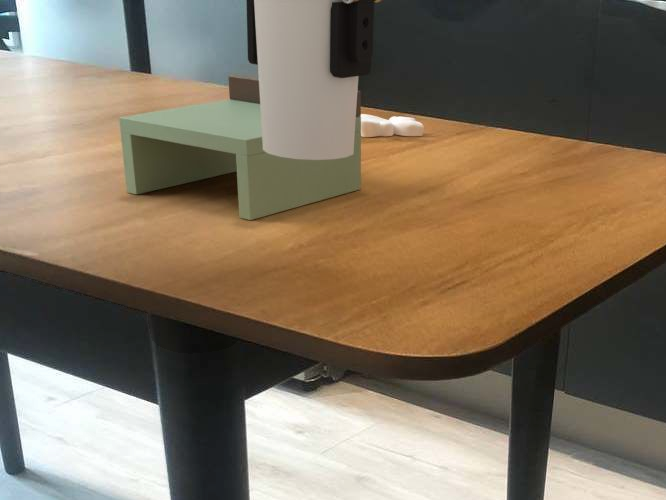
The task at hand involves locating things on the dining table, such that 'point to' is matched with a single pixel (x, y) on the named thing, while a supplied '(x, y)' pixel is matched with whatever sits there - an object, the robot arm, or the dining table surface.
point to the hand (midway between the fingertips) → (308, 66)
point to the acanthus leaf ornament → (389, 126)
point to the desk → (230, 154)
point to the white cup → (302, 82)
